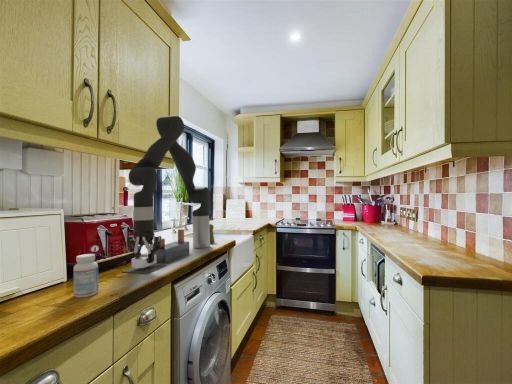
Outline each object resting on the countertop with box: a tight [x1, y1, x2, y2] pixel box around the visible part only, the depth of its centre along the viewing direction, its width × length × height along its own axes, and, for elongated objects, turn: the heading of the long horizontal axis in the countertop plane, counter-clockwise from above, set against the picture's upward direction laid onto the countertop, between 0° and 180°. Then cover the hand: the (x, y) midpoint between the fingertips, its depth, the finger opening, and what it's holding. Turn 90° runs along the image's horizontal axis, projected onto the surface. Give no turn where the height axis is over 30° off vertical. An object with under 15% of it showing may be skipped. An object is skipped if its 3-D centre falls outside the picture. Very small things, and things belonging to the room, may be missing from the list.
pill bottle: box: [72, 253, 100, 299], centre depth 78 cm, size 6×6×11 cm
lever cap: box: [131, 252, 157, 268], centre depth 105 cm, size 8×5×4 cm, turn 166°
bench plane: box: [154, 228, 190, 265], centre depth 123 cm, size 20×7×12 cm, turn 166°
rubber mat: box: [121, 264, 166, 275], centre depth 105 cm, size 11×11×1 cm
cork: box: [209, 223, 215, 244], centre depth 164 cm, size 6×6×11 cm
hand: (144, 262), depth 105 cm, fingers closed on lever cap, 5 cm apart
